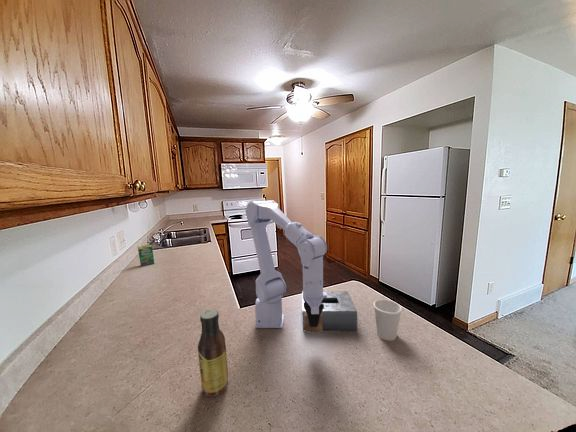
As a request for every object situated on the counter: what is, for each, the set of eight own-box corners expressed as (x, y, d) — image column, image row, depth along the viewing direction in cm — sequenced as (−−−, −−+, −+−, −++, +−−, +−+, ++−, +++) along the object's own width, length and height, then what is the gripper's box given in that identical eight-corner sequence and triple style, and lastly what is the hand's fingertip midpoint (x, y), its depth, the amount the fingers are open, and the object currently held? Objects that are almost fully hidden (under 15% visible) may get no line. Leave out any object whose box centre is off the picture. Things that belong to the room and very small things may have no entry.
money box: (303, 330, 75) (302, 311, 74) (302, 308, 89) (301, 291, 88) (356, 330, 74) (357, 311, 73) (347, 308, 88) (347, 291, 87)
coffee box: (140, 266, 143) (137, 247, 142) (139, 265, 146) (137, 246, 144) (154, 263, 148) (152, 244, 146) (154, 262, 150) (152, 244, 149)
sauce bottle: (206, 377, 57) (200, 305, 55) (230, 375, 58) (225, 303, 55) (198, 402, 51) (190, 321, 48) (225, 399, 51) (220, 319, 49)
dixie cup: (379, 323, 77) (379, 296, 76) (404, 334, 72) (406, 305, 70) (368, 335, 72) (368, 306, 70) (395, 347, 66) (396, 316, 64)
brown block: (305, 332, 64) (304, 316, 64) (304, 327, 66) (304, 312, 65) (322, 332, 64) (322, 316, 63) (321, 327, 66) (321, 312, 65)
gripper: (330, 290, 56) (330, 340, 57) (323, 269, 70) (324, 309, 72) (302, 291, 56) (303, 340, 58) (301, 269, 70) (302, 309, 72)
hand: (313, 323), depth 65 cm, fingers closed on brown block, 2 cm apart
